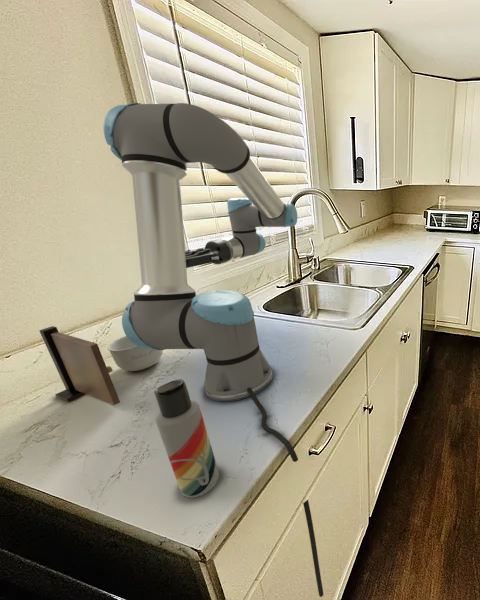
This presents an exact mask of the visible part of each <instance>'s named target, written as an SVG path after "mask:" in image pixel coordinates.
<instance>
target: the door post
mask: <svg viewBox="0 0 480 600" xmlns="http://www.w3.org/2000/svg"><path fill="white" fill-rule="evenodd" d="M38 331H39V333H40V336H41V338H42V340H43V342H44V344H45V347H46V349H47V351H48V353H49V355H50V357H51V360H52V362H53V364H54V366H55V369H56V370H57V373H58V375H59V378H60V379H61V381H62V384H63V386H64V388H65V389H63V390H62V391H60V392H57V393H56V394H55V397H56V398H57V399H60V400H62V401H65V402H67V403H70V402H71V401H74V400H75V399H78V398H79V397H81V396H84V395H85V394H84V393H82V392H79V391H77V390H75V388H74V386H73V383H72V381H71V379H70V377H69V375H68V372H67V370H66V368H65V366H64V363H63V361H62V359H61V357H60V354H59V352H58V350H57V348H56V346H55V343H54V341H53V339H52V337H51V334H52V333H55V332H59V330H58V327H57V326H53V325H52V326H49V327H45V328H42V329H39V330H38Z"/></svg>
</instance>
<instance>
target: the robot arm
mask: <svg viewBox="0 0 480 600" xmlns="http://www.w3.org/2000/svg"><path fill="white" fill-rule="evenodd" d="M102 125H103V136H104V139H105V142H106V144H107V145H108V146H110V149H109V150H110V151H111V153H112V154H113V155H114V156H115V157H116V158H118V159H119V160H120V161H121V166H122V168H124V169H125V170H126V171H127V172H128V173H130V175H131V176H132V177H131V178H132V187H133V188H132V189H133V199H134V211H135V223H136V234H137V245H138V256H139V266H140V269H139V270H140V278H141V286H140V287H139V288H138V289H137V290H135V292H133V298H134V299H133V301H131V302H129V303H128V304H127V305H126V306H125V308H124V309H125V311H123V312H122V316H121V325H122V330H123V332H124V334H125V336H127V338H128V339H129V340H130V341H131V342H132V343H134V344H135V345H137V346H138V347H141V348H145V349H155V350H162V351H164V350H203V352H204V355H205V359H206V369H205V378H204V382H203V383H204V390H205V395H206V396H207V397H208V398H209V399H210V400H213V401H217V402H235V401H239V400H244V399H247V398H251V400H252V401H253V403H254V404H255V406H256V408H257V409H258V411H259V412H260V414H261V422H260V424H261V428H262V430H263V431H264V432H266V433H268V434H270V435H271V436H274V437H275V438H276V439H277V440H278V441H279V442H281V444H283V446H284V447H285V448H286V450H287V452H288V453H289V454H288V455H289V456H290V458H291V461H292V462H294V463H296V462H298V460H299V458H298V454H297V453H296V450H295V449H294V447H293V445H292V444H291V442H290V441H289V440H288V439H287V438H286V437H285V436H284V435H283V434H282V433H280V432H279V431H277V430H276V429H274V428H271V427H269V426H268V424H267V420H268V419H267V418H268V415H267V411H266V409H265V407H264V406H263V404H262V403H261V402H260V400H259V398H258V397H257V396H256V395H257V394H258V393H259V392H261V391H262V390H265V388H266V387H268V385H269V384H270V383H271V381H272V379H273V370H272V367H271V365H270V363H269V361H268V360H267V358H266V356H265V355H264V354H263V352H262V350H261V348H260V343H259V337H258V331H257V326H256V321H255V312H254V310H253V306H252V304H251V299H250V298H249V297H248V296H247V295H245V294H244V293H241V292H240V291H236V290H229V289H217V290H214V291H213V290H209V291H208V290H207V291H204V292H201V293H198V294H197V292H196V289H195V288H193V287H192V286H190V285H189V284H188V283H189V282H188V273H187V271H188V270H187V269H188V268H193V267H198V266H202V265H207V264H211V263H212V264H213V265H222V264H226V263H228V262H231V263H233V262H235V260H239V259H242V258H246V257H250V256H255V255H257V254H259V253H261V252H263V251H264V250H265V248H266V240H265V238H264V236H263V235H262V234H261V233H260V232H257V228H286V227H287V228H289V227H294V226H296V225H297V223H298V210H297V208H296V205H294V204H293V203H288V202H286V203H284V201H282V199H281V198H280V196H279V194H277V192H276V191H275V190H274V188H273V186H272V185H271V183H270V182H269V181H268V180H267V178H266V177H265V175H264V174H263V172H262V171H261V170H260V169H259V167H258V166H257V164H256V163H255V162H254V160H253V159H252V157H251V151H250V147H249V146H248V145H247V143H246V142H245V140H244V139H243V138H242V136H241V135H240V134H239V133H238V132H237V131H236V130H235V129H234V128H233V127H231V125H229V124H228V123H227V122H225V120H223V119H221V118H220V117H219V116H218V115H216V114H214V113H213V112H211V111H209V110H207V109H205V108H204V107H200V106H198V105H195V104H192V103H187V102H186V103H185V102H177V103H141V102H131V103H127V104H118V105H116V106H113V107H112V108H111V109H109V110H108V111H107V113H106V115H105V116H104V120H103V124H102ZM191 163H192V164H195V163H203V164H207V165H210V166H212V167H213V168H214V169H215V170H216V171H217V172H219V173H221V174H224V175H226V176H227V177H228V179H230V180H231V181H232V183H233V184H234V185H235V186H236V187H237V188H238V189H239V190H240V191H241V193H242V194H244V196H245V197H233V198H229V199H228V200H227V201H226V203H227V214H228V217H229V222H230V226H231V233H232V236H227V237H224V238H219V239H215V240H209V241H207V243H205V246H204V247H200V248H197V249H194V250H191V249H187V250H186V247H185V232H184V220H183V218H184V217H183V208H182V207H183V206H182V204H183V203H182V193H181V191H182V190H181V181H182V180H183V179H184V178H185V177H186V176H187V175H188V170H187V169H188V168H187V167H188V166H187V164H191ZM302 504H303V505H302V506H303V509H304V514H305V519H306V524H307V530H308V536H309V543H310V549H311V554H312V561H313V567H314V573H315V579H316V587H317V591H318V597H320V598H322V597H323V596H324V588H323V582H322V576H321V569H320V563H319V562H320V561H319V555H318V548H317V542H316V541H317V540H316V535H315V529H314V523H313V519H312V513H311V508H310V507H311V506H310V502H309V499H306V500H305V501H304V502H303V503H302Z"/></svg>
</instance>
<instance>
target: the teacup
mask: <svg viewBox="0 0 480 600" xmlns="http://www.w3.org/2000/svg"><path fill="white" fill-rule="evenodd" d="M107 350H108V351H109V353H110V355H111V357H112V359H113V361H114V363H115V364H116V366H117V368H119V369H121V370H125V371H130V372H137V371H142V370H145V369H148V368H150V367H152V366H153V365H155V364H157V362H158V361H159V359H160V358H161V357H162V356H163V352H164V350H155V349H145V348H141V347H138V346H137V345H135V344H134V343H132V342H131V341H130V340H129V339H128V338H127V336H126V335H125V336H122V337H119V338H118V339H116V340H113V341H112V342H110V343H109V345H108V346H107Z"/></svg>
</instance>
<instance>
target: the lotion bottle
mask: <svg viewBox="0 0 480 600" xmlns="http://www.w3.org/2000/svg"><path fill="white" fill-rule="evenodd" d="M154 396H155V399H156V403H157V405H158V408H159V413H158V414H157V415H156V417H155V423H156V426H157V431H158V432H159V435H160V438H161V441H162V444H163V446H164V449H165V452H166V455H167V458H168V460H169V461H168V462H169V463H170V466H171V469H172V471H173V475H174V477H175V480H176V483H177V486H178V488H179V490H180V493H181V495H182V496H183V497H185V498H188V499H192V498H193V499H194V498H198V497H201V496H203V495H205V494H207V493H208V492H209V491H211V490H212V489H213V488H214V487H215V486H216V484H217V483H218V481H219V478H220V476H219V475H220V474H219V469H218V465H217V462H216V458H215V454H214V452H213V448H212V445H211V440H210V438H209V434H208V430H207V426H206V424H205V420H204V417H203V413H202V410H201V406H200V404H199V403H198V402H197V401H195V400H191V397H190V393H189V391H188V388H187V385H186V382H185V380H184V379H174V380H172V381H169V382H167V383H164V384H162V385H160V386H159V387H157V388H156V389H155V390H154Z"/></svg>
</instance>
